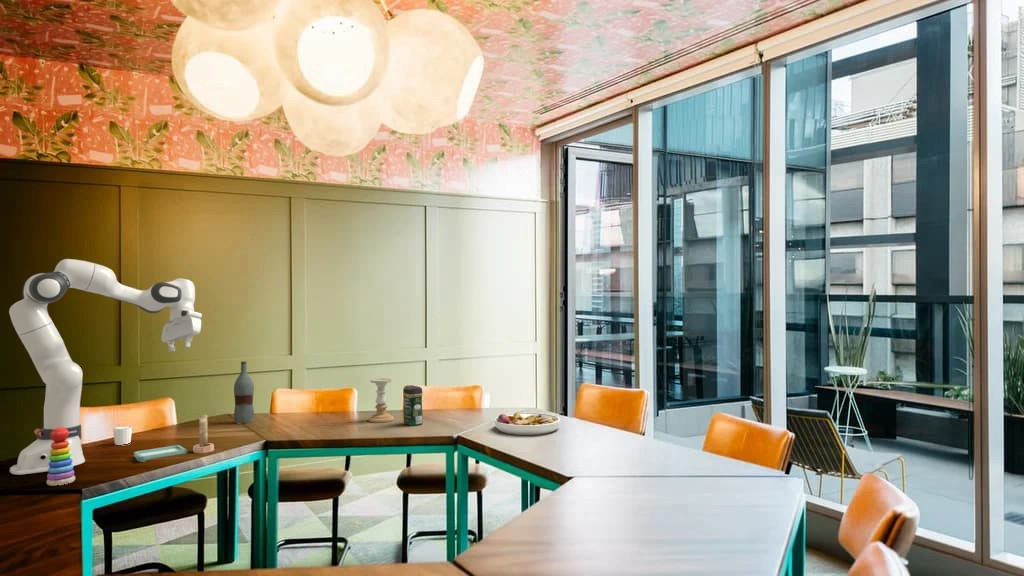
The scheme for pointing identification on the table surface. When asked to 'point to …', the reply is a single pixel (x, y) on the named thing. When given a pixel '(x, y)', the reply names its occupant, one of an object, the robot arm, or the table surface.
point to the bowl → (527, 423)
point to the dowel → (203, 430)
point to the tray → (159, 453)
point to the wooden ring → (203, 448)
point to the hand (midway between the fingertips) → (179, 349)
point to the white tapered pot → (122, 435)
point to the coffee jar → (412, 405)
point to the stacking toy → (60, 459)
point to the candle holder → (381, 402)
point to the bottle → (243, 397)
